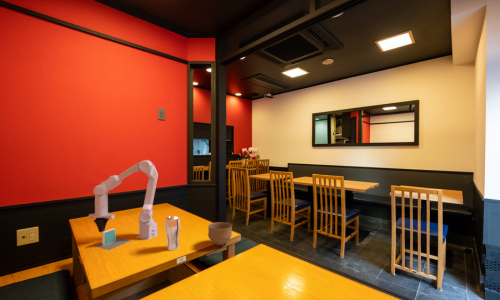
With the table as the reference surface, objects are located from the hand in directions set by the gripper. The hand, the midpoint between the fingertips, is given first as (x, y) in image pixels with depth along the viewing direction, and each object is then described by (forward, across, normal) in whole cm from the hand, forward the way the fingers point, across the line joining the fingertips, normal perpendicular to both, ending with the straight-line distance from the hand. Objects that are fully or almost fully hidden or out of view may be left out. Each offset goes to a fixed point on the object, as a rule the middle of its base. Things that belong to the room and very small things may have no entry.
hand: (101, 231), depth 114 cm
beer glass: (+6, -42, 0) cm, 43 cm away
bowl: (+6, -65, -8) cm, 66 cm away
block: (+5, -6, +1) cm, 8 cm away
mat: (+6, -8, +1) cm, 10 cm away
